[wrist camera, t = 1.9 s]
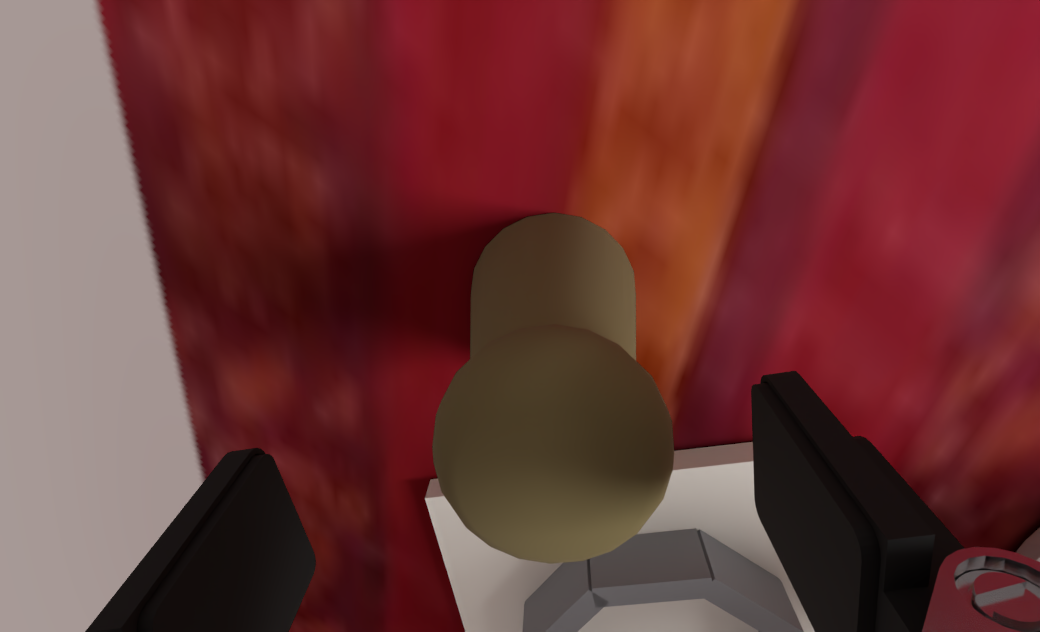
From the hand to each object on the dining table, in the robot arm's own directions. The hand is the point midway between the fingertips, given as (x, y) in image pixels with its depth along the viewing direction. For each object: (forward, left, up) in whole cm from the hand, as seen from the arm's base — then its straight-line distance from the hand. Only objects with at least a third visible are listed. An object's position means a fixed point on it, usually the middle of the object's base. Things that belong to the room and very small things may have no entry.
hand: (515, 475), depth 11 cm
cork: (-1, 0, -11) cm, 11 cm away
